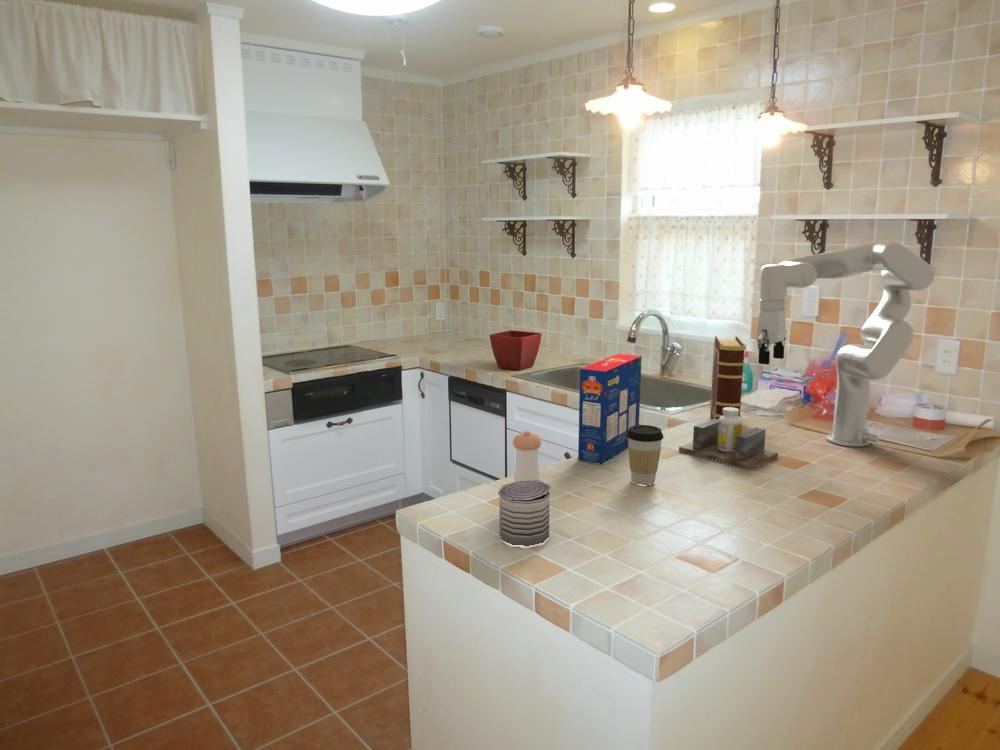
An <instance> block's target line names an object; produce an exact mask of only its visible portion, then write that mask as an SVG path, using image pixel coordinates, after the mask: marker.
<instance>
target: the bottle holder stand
mask: <svg viewBox="0 0 1000 750" xmlns="http://www.w3.org/2000/svg"><path fill="white" fill-rule="evenodd" d="M718 426H719V419H712V420H711V419H710V420H706V421H703V422H702V423H699V424H696V425H693V433H692V434H693V436H692V441H690V442H687V443H685V444H682V445H680V446H678V447H679V448H678V449H679V450H678V452H679V451H680V453H683V452H685V453H684V454H687V453H689V454H688V455H691V454H693V455H692V456H694V455H697V456H696V457H698V456H701V457H700V458H702V457H705V458H704V459H706V458H709V459H708V460H710V459H713V460H712V461H714V460H717V461H720V462H719V463H721V462H724V463H723V464H725V463H728V464H727V465H729V464H731V465H730V466H733V465H735V466H734V467H737V466H739V467H738V468H740V467H742V468H741V469H744V468H745V469H744V470H748V469H750V470H749V471H754V470H756V469H757V467H758V468H760V467H762V466H764V465H766V464H769V463H770V462H773V461H775V460H777V459H779V453H778V452H775V451H772V450H766V449H765V443H766V429H765V428H760V427H754V428H752V429H750V430H749V429H748V430H747V431H744V432H741V434H739V435H737V436H736V447H735V452H723V451H720V450H719V449H718ZM717 461H716V462H717ZM761 465H762V466H761ZM759 466H760V467H759ZM755 468H756V469H755ZM753 469H754V470H753Z"/></svg>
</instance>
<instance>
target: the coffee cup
mask: <svg viewBox="0 0 1000 750" xmlns="http://www.w3.org/2000/svg"><path fill="white" fill-rule="evenodd" d="M626 436H627V437H628V443H629V445H628V448H627V449H628V450H627V451H628V458H629V459H628V462H629V470H630V480H632V481H631V483H632V482H634V483H636V484H642V485H649V484H653V483H654V482H655V483H656V478H657V477H656V476H657V472H658V468H659V461H660V455H661V449H662V440H663V439H664V434H663V432H662V429H661V428H660V427H658V426H654V425H650V424H649V425H647V424H639V425H636V426H632V427H630V428H629V431H628V432H627V434H626ZM655 483H654V484H655Z"/></svg>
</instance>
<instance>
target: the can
mask: <svg viewBox="0 0 1000 750" xmlns="http://www.w3.org/2000/svg"><path fill="white" fill-rule="evenodd" d="M551 487H552V486H551V485H550V484H548V483H546V482H544V481H541V479H540V480H519V481H516V482H514V481H513V482H510V483H507V484H503V485H502V486H501V488H500V489H499V491H498V492H497V494H498V495H499V497H498V498H499V537H500V536H501V538H500V540H501V539H502V540H503V541H505V542H507V543H510V544H512V545H524V546H530V545H535V544H539V543H543V542H544V541H545V540H546V539H547V538H548V537H549V538H550V502H551V501H550V498H551V496H550V494H551V493H550V492H549V490H550V489H551Z"/></svg>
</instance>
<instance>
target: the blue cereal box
mask: <svg viewBox="0 0 1000 750" xmlns="http://www.w3.org/2000/svg"><path fill="white" fill-rule="evenodd" d="M642 358H643V357H642V355H633V354H632V355H631V354H623V353H616V354H614V355H612V356H610V357H607V358H604V359H602V360H598V361H596V362H594V363H591V364H589V365H586V366H583V367H580V369H579V401H578V403H579V405H578V407H579V408H578V411H579V413H578V448H577V449H578V453H577V454H578V455H577V457H578V458H577V459H578V461H580V462H587V463H592V464H596V463H600V464H599V465H601V464H603V463H605V462H606V461H608V460H609V459H611V458H612V459H613V458H615V457H616V456H618V455H619V454H621V453H622V452H623V451H625V450H626V449H628V445H629V443H628V437H627V436H626V434H627V432H628V431H629V428H630V427H632V426H636V425H640V409H641V407H640V406H641V403H640V402H641V378H642ZM614 456H615V457H614ZM612 459H611V460H612ZM609 461H610V460H609ZM609 461H608V462H609ZM606 463H607V462H606ZM606 463H605V464H606ZM603 465H604V464H603Z"/></svg>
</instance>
